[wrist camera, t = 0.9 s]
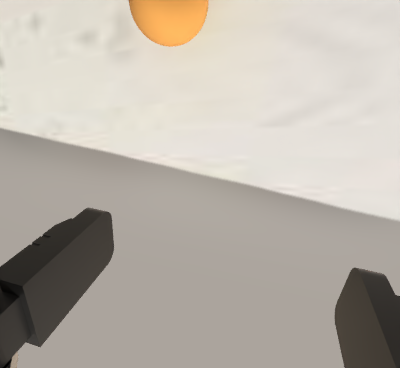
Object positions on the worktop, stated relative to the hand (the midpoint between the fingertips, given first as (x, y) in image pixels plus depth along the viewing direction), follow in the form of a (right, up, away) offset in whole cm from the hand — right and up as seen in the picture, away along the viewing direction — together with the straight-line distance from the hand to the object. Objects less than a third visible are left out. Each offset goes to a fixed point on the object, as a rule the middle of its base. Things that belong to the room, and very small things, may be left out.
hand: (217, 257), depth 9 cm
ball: (-3, +16, +12) cm, 20 cm away
